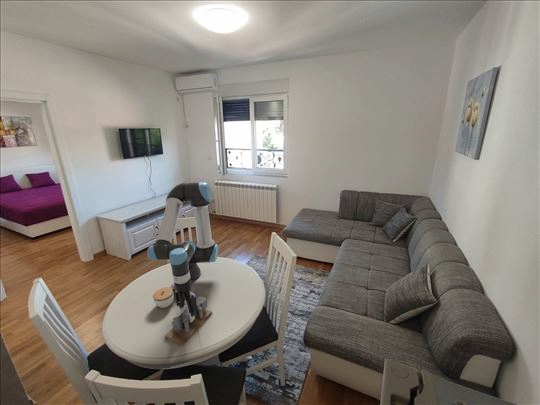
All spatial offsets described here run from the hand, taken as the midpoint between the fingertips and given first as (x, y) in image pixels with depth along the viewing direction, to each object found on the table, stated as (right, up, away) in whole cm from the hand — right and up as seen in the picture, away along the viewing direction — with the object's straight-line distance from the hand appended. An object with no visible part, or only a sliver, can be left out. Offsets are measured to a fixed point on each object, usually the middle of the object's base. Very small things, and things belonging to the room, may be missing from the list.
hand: (188, 319), depth 122 cm
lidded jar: (-19, 0, +17) cm, 25 cm away
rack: (0, -4, +1) cm, 4 cm away
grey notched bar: (+1, 0, +1) cm, 2 cm away
